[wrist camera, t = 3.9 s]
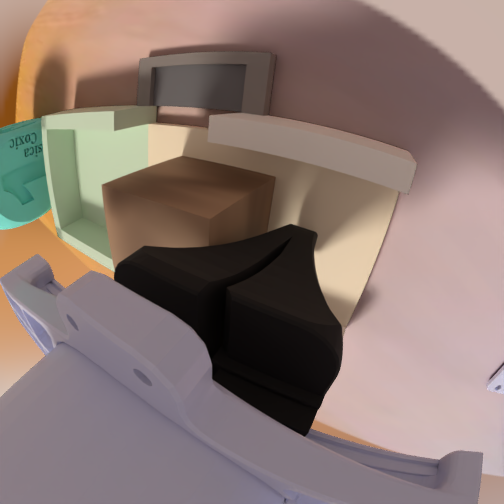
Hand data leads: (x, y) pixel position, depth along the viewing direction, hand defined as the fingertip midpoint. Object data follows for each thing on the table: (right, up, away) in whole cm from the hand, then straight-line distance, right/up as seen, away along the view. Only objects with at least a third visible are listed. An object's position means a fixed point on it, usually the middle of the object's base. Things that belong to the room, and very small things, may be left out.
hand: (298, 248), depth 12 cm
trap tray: (-6, +3, +3) cm, 7 cm away
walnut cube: (-3, +2, +2) cm, 4 cm away
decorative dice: (-21, +9, +9) cm, 25 cm away
